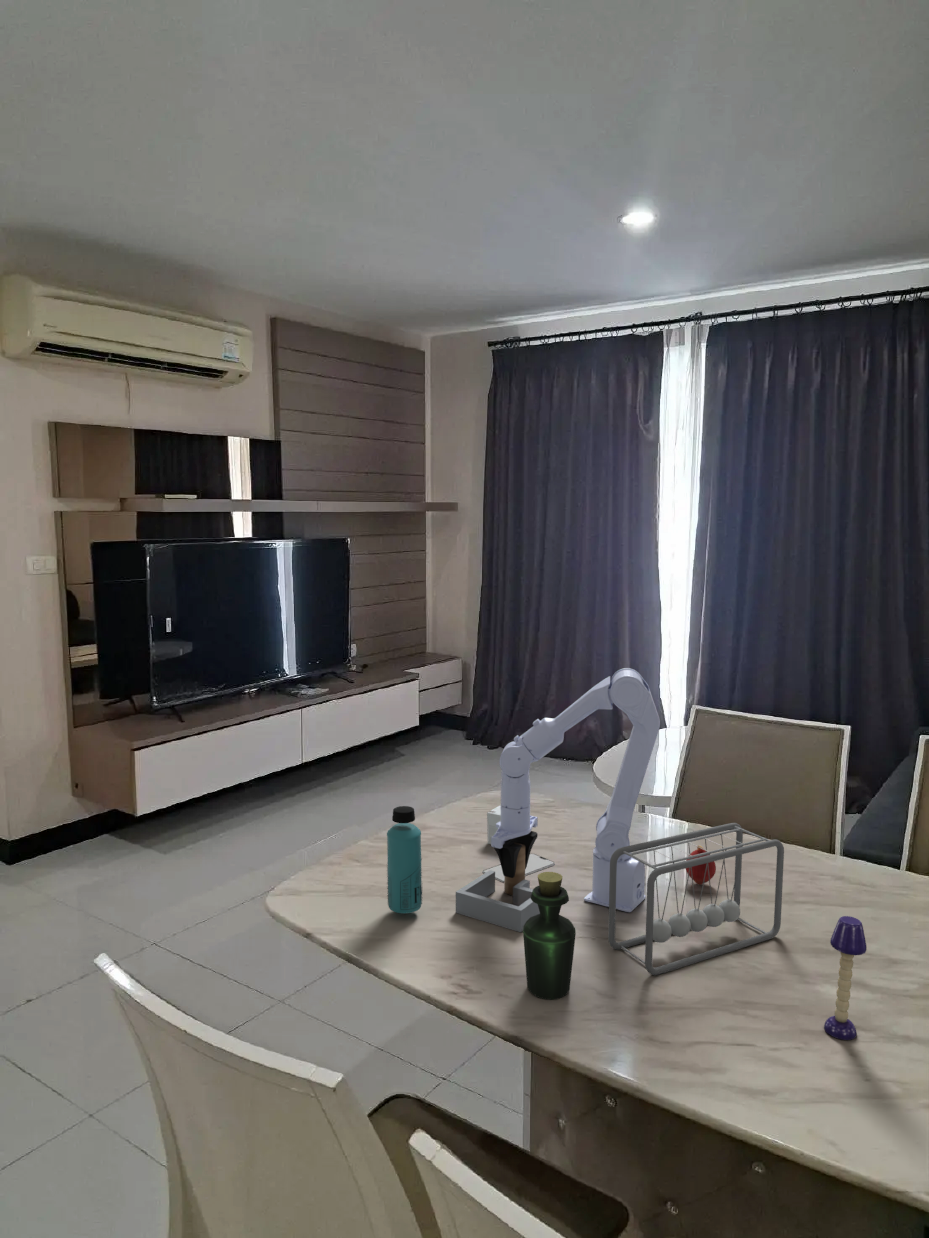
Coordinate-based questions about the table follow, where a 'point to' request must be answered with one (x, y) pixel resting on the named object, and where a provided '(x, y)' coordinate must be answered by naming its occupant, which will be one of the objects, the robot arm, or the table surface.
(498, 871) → the smartphone
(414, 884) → the beverage bottle
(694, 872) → the onion
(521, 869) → the peg
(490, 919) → the channel
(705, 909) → the newton's cradle
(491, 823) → the skincare box
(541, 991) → the potion bottle
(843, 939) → the toy lamp
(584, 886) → the table surface
